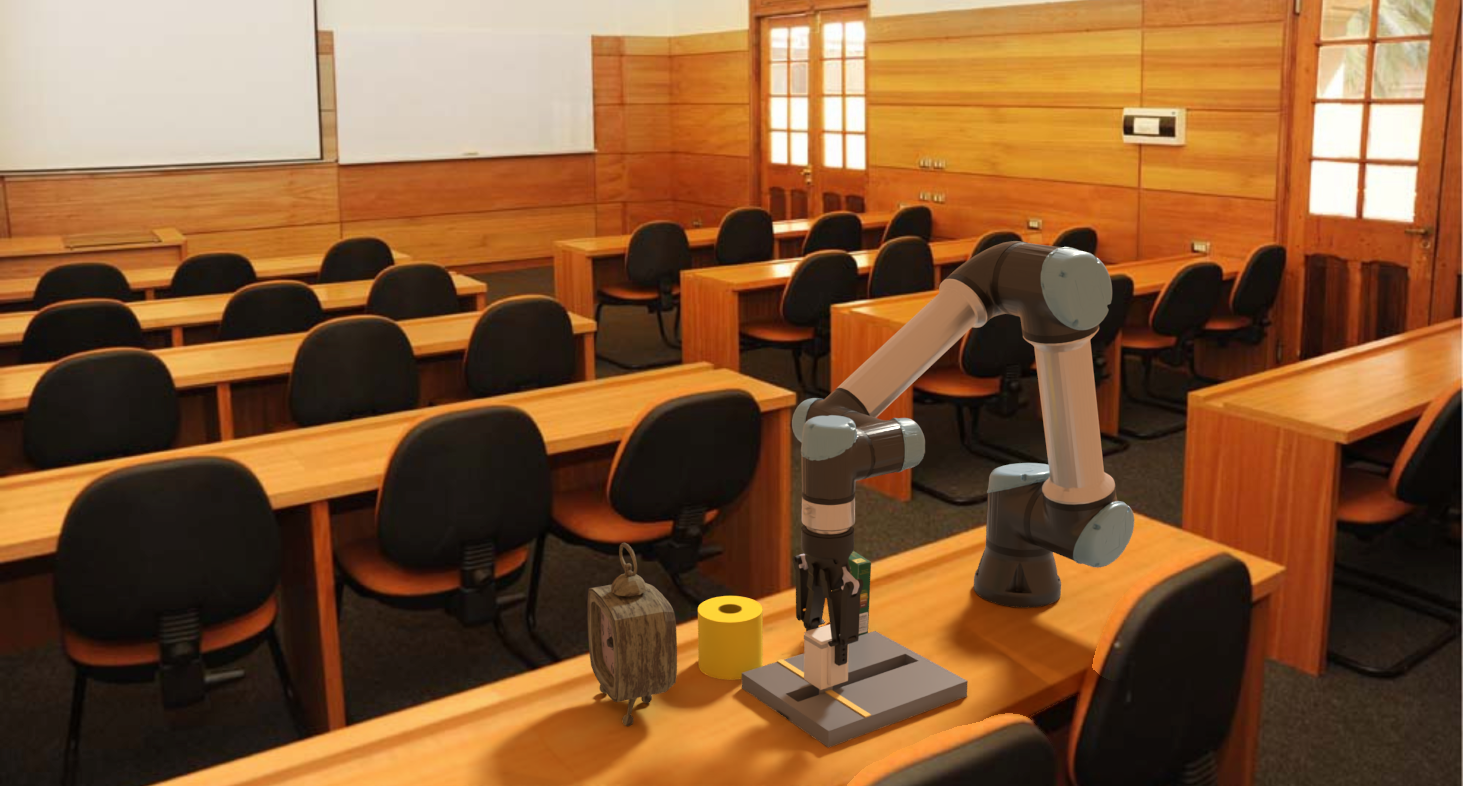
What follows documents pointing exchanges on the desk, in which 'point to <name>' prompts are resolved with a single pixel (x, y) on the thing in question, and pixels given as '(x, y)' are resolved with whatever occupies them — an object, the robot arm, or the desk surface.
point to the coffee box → (862, 570)
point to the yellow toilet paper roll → (730, 636)
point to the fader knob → (818, 658)
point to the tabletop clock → (631, 638)
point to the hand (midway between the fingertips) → (826, 676)
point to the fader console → (856, 690)
